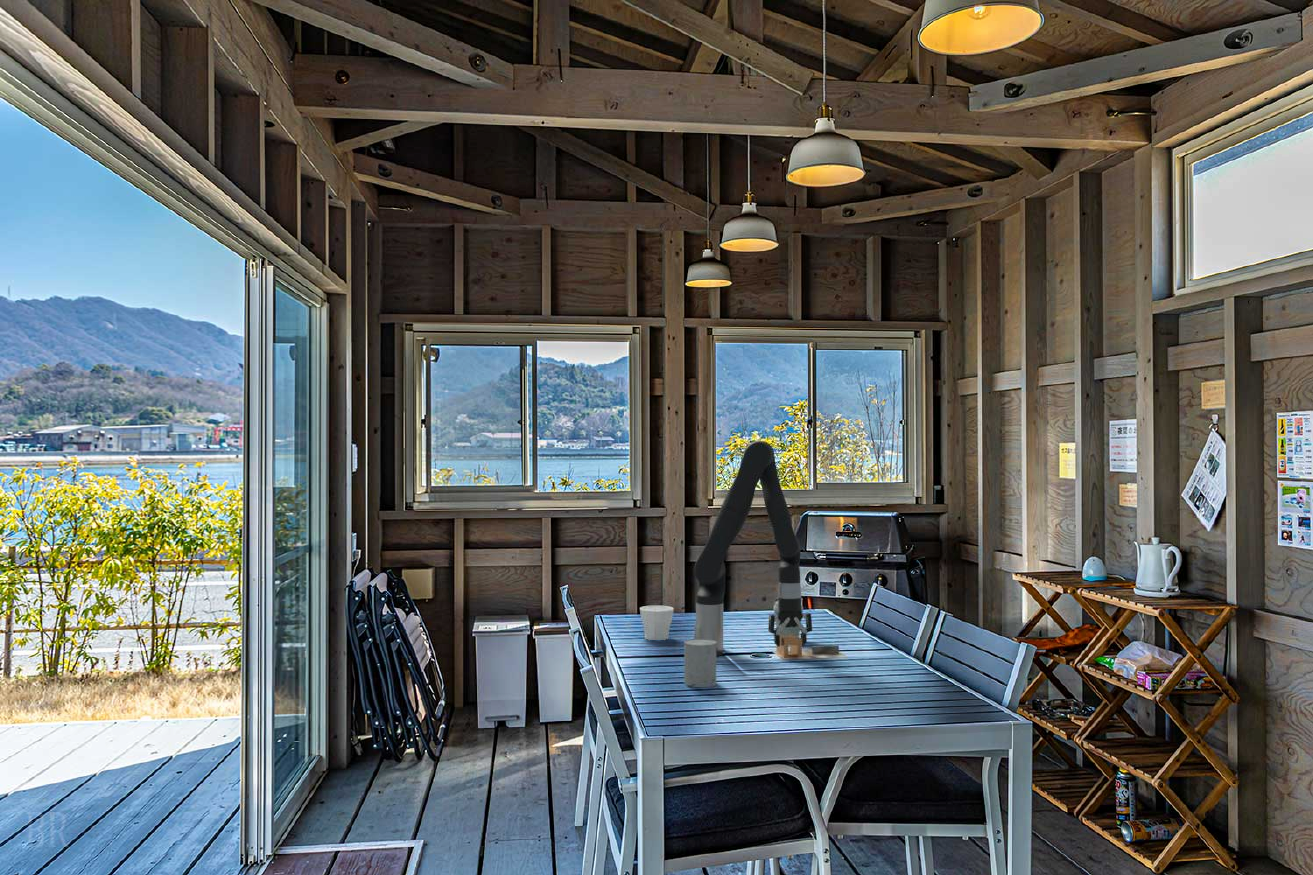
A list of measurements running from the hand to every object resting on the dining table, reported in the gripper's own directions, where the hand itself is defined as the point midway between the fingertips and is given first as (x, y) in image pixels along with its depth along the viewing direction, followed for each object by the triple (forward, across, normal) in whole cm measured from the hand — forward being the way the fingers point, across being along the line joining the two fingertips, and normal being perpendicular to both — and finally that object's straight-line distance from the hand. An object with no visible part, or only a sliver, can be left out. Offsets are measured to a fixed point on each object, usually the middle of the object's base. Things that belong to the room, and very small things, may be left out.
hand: (790, 645), depth 310 cm
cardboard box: (+3, 0, 0) cm, 3 cm away
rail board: (+5, +6, 0) cm, 8 cm away
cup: (+4, -38, +40) cm, 55 cm away
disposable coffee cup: (+5, +6, +22) cm, 24 cm away
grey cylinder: (+4, -36, -26) cm, 45 cm away
